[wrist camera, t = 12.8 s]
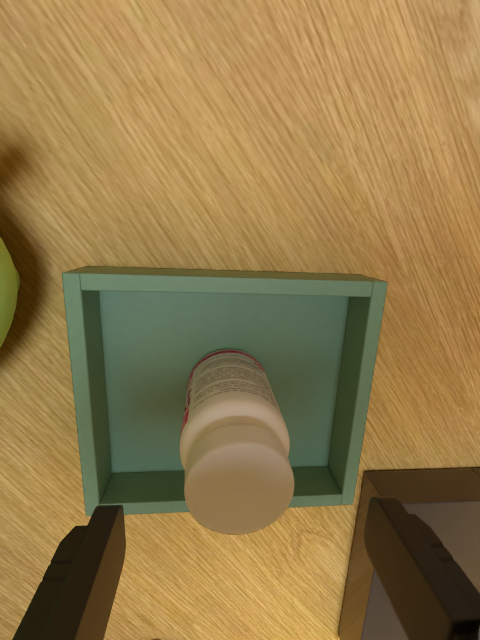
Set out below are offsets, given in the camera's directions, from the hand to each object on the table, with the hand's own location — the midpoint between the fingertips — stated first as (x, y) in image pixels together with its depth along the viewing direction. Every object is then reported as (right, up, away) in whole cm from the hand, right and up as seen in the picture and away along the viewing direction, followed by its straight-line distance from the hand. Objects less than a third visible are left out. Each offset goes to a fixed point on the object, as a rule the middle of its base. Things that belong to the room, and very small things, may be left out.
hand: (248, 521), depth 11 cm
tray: (-1, +3, +10) cm, 10 cm away
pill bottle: (-1, +3, +9) cm, 10 cm away
